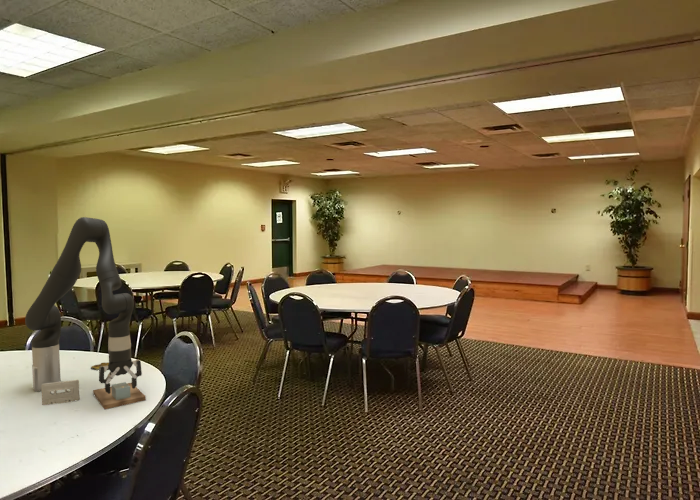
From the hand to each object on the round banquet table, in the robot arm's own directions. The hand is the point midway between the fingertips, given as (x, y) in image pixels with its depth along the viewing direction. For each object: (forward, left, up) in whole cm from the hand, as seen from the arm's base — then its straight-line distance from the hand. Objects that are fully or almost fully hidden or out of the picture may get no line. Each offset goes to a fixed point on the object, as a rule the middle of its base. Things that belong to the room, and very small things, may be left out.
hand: (121, 390), depth 180 cm
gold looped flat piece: (+6, +48, -4) cm, 49 cm away
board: (0, +4, -4) cm, 5 cm away
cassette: (-18, +12, -4) cm, 22 cm away
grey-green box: (0, 0, -2) cm, 2 cm away
